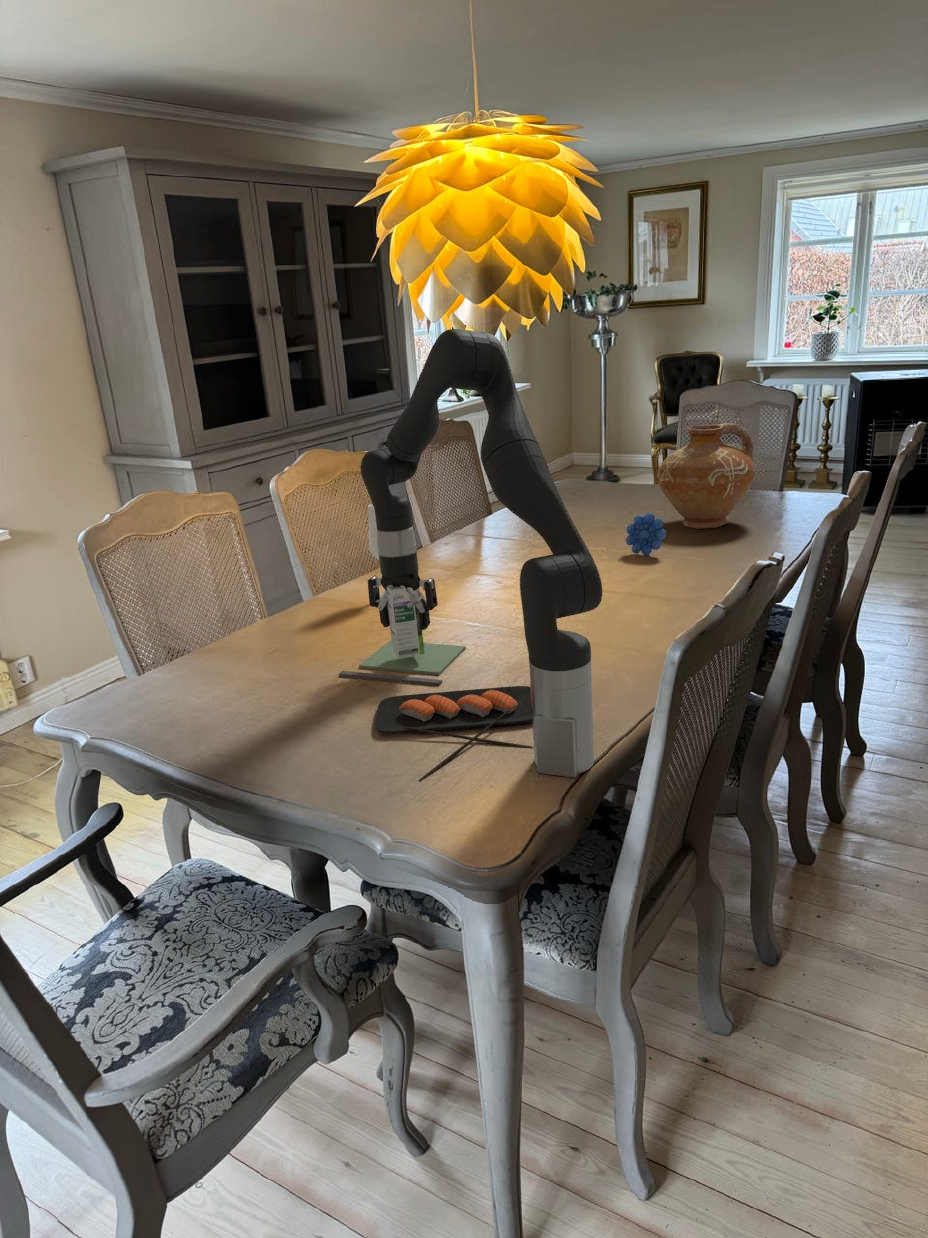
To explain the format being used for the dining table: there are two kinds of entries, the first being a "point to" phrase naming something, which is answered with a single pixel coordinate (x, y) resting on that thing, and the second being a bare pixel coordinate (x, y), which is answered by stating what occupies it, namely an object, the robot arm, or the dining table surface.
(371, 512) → the champagne flute
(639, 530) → the blue bumpy cluster
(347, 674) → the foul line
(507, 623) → the dining table surface
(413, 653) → the syrup box
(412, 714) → the sushi plate
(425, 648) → the mat
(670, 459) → the jug
